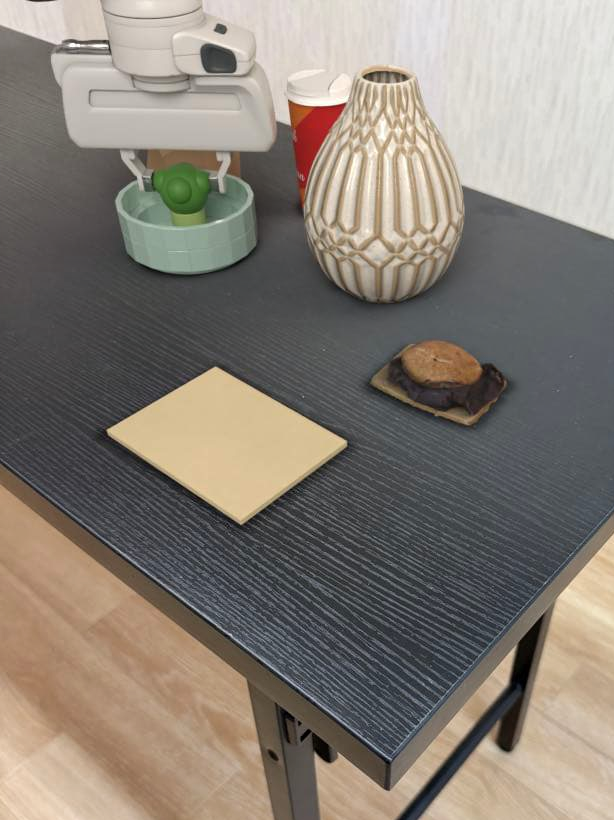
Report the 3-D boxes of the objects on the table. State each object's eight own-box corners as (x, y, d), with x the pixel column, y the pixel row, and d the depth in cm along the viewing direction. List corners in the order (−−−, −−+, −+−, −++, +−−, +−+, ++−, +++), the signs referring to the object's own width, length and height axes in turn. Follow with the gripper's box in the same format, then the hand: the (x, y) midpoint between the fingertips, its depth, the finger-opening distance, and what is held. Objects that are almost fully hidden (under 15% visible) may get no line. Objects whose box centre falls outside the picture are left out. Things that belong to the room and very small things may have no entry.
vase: (298, 319, 80) (281, 102, 65) (317, 242, 91) (306, 41, 76) (458, 327, 80) (478, 112, 65) (458, 249, 90) (475, 49, 76)
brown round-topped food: (364, 390, 72) (364, 355, 70) (414, 345, 77) (415, 311, 75) (467, 432, 69) (471, 397, 66) (512, 383, 74) (517, 348, 71)
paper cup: (314, 188, 100) (308, 62, 90) (368, 202, 98) (368, 75, 87) (279, 213, 95) (268, 83, 85) (335, 229, 93) (330, 97, 83)
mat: (107, 435, 67) (106, 429, 67) (216, 371, 74) (215, 365, 73) (241, 525, 60) (240, 520, 60) (347, 446, 67) (347, 441, 67)
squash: (172, 226, 93) (140, 144, 86) (142, 179, 107) (113, 106, 101) (259, 195, 95) (234, 113, 88) (218, 153, 109) (194, 80, 102)
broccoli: (158, 252, 86) (143, 177, 80) (168, 225, 90) (155, 152, 85) (216, 254, 87) (205, 179, 81) (224, 226, 91) (214, 153, 85)
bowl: (114, 278, 84) (101, 227, 80) (141, 215, 94) (131, 167, 90) (251, 280, 85) (245, 230, 81) (264, 218, 94) (259, 170, 90)
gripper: (34, 49, 72) (76, 202, 82) (264, 55, 73) (278, 206, 83) (54, 28, 76) (91, 175, 86) (271, 33, 77) (283, 179, 87)
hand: (184, 190), depth 85 cm, fingers closed on broccoli, 6 cm apart
